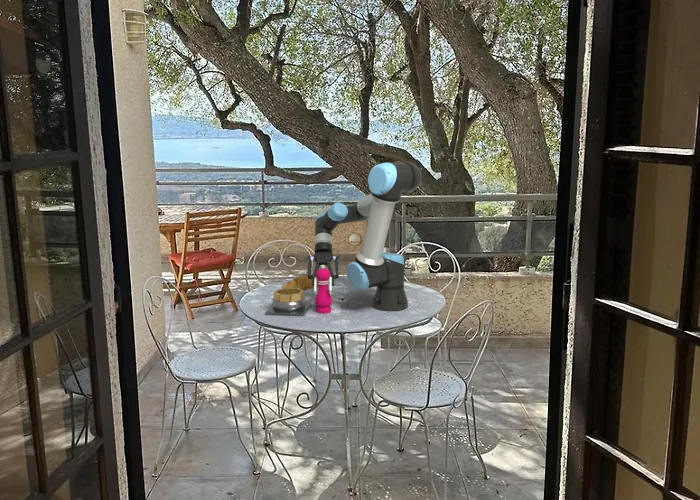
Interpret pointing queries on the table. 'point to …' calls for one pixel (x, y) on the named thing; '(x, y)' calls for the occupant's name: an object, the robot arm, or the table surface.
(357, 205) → the robot arm
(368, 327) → the table surface
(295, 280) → the croissant
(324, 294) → the pepper mill
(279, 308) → the silver and gold bowl
